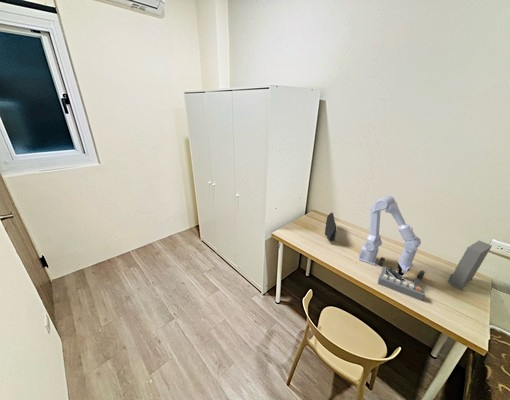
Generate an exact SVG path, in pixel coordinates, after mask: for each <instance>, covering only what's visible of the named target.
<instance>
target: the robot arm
mask: <svg viewBox="0 0 510 400" xmlns="http://www.w3.org/2000/svg"><path fill="white" fill-rule="evenodd" d="M369 210H370V211H369V227H368V229H369V231H368V236H367V238H366V241H365V242H364V244H362V246H361V250H360V252H359V253H358V255H359V257H358V260H359V261H361V262H365V263H367V264H370V265H373V266H375V265H376V262H377V261H376V260H377V255H378V253H379V251H380V250H379V247H380V246H382V244H383V242H382V239H381V235H380V228H381V227H380V226H381V225H380V224H381V223H380V222H381V211H384V212H385V213H388V214H391V216H392V218H393V219H394V221H395V222H396V223H397V225H398V228H397V230H398V232H399V234H400V235H401V237H402V239H403V241H404V242H403V246H404V247H403V249H402V251H401V254H400V257H399V259H398V261H397V268H398V270H397V273H398V274H399V275H400V276H401V277H403V276H404V275H406V274H407V272H409V271H410V268H414V264H413V261H414V258H415V256H416V254H417V251H418V247H419V246H420V245H421V244H422V241H421V239H420V238H419V237H418V235H417V236H416V234H415V232H414V231H413V230H414V229H413V227H412V226H411V225H410V224H407V223H406V221H405V219H404V217H403V214H402V213H401V211H400V209H399V206H398V202H396V200H395V198H394V196H392V195H385V196H383V197H381V198H380V199H378V200H376V201H374V203H373V204H372V205H371V206H370V209H369Z"/></svg>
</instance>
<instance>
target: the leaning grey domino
mask: <svg viewBox="0 0 510 400" xmlns="http://www.w3.org/2000/svg"><path fill="white" fill-rule="evenodd" d="M492 246H493V245H492V244H489V243H488V242H487V243H486V242H484V241H481V240H477V241H476V242H474V243H472V244H471V245H469V246H468V247H467V248H466V249H465V252H464V254H463V256H462V257H461V259H460V260H459V262H458V264H457V266H456V267H455V269H454V272H453V273H452V274H451V275H450V276H449V278H448V280H447V281H446V282H447V283H448V284H450V285H452V286H454V287H456V288H457V289H459V290H461V289H462V288H463V287H465V286H466V285H468V284H469V283H471V282H472V281H473V278H474V277H475V275H476V273H477V272H478V270H479V268H480V266H481V265H482V264H483V261H484V260H485V258H487V257H486V256H487V255H488V253H489V252H490V250H491V248H492Z"/></svg>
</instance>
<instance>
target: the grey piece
mask: <svg viewBox="0 0 510 400" xmlns="http://www.w3.org/2000/svg"><path fill="white" fill-rule="evenodd" d="M377 279H378V280H377V285H380V286H383V287H385V288H388V289H390V290H393V291H396V292H397V293H398V292H399V293H401V294H403V295H405V296H408V297H411V298H413V299H415V300H419V301H421V302H422V301H423V299H424V297H425V291H424V290H425V289H423V288H422V287H421V284H420V280H419V279H418V278H414V280H413V284H411V283H409V284H408V282H407V281H405V282H404V281H403V282H401V281H400V280H398V279H397V280H395V279H394V278H393V277H390V276H389V275H388V274H387V273H386V267H382V268H381V272H380V273H379V276H378V278H377Z"/></svg>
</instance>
